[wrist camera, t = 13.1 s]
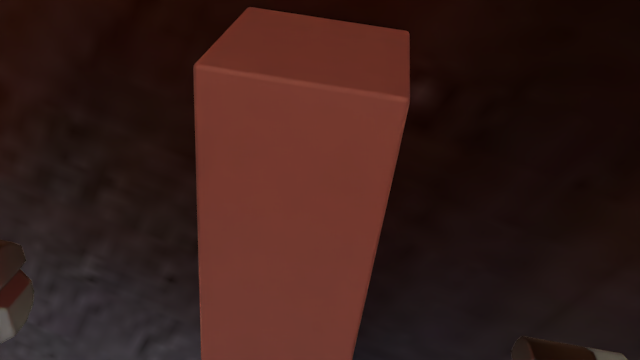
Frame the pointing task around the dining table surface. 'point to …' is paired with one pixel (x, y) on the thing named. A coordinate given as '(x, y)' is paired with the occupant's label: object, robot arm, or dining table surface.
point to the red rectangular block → (293, 180)
